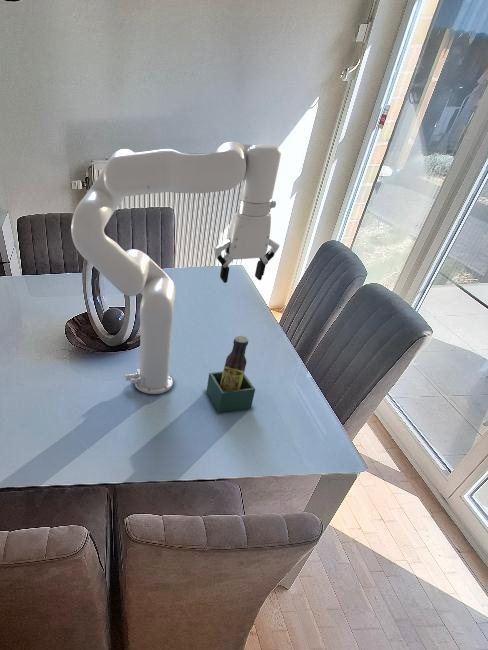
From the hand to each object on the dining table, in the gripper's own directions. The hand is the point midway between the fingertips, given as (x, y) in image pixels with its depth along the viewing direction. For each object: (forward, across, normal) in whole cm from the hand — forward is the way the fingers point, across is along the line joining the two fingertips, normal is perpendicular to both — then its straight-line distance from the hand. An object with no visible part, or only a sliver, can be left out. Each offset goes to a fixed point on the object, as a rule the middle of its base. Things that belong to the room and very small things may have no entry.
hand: (240, 279), depth 125 cm
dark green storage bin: (+35, 0, +6) cm, 35 cm away
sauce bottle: (+34, 0, +7) cm, 35 cm away
